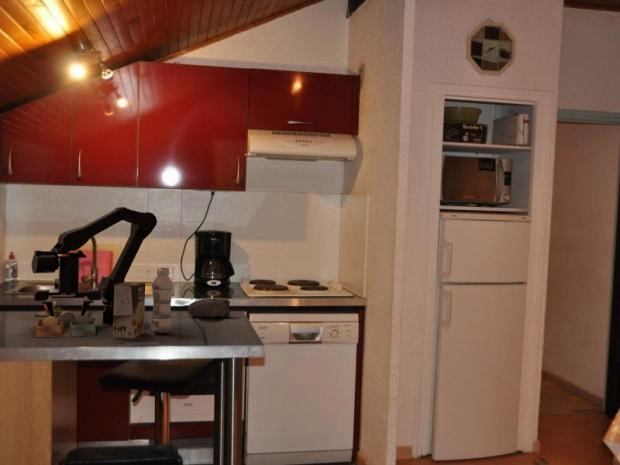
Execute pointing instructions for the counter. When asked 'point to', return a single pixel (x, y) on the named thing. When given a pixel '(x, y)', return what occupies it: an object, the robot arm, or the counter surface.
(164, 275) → the plastic bottle
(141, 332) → the coffee box
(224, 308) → the perforated stone tool
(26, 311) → the counter surface
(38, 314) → the burger
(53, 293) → the robot arm
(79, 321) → the slate ball
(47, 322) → the ochre ball
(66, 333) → the wooden sorting board
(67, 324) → the slate ball
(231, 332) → the counter surface
